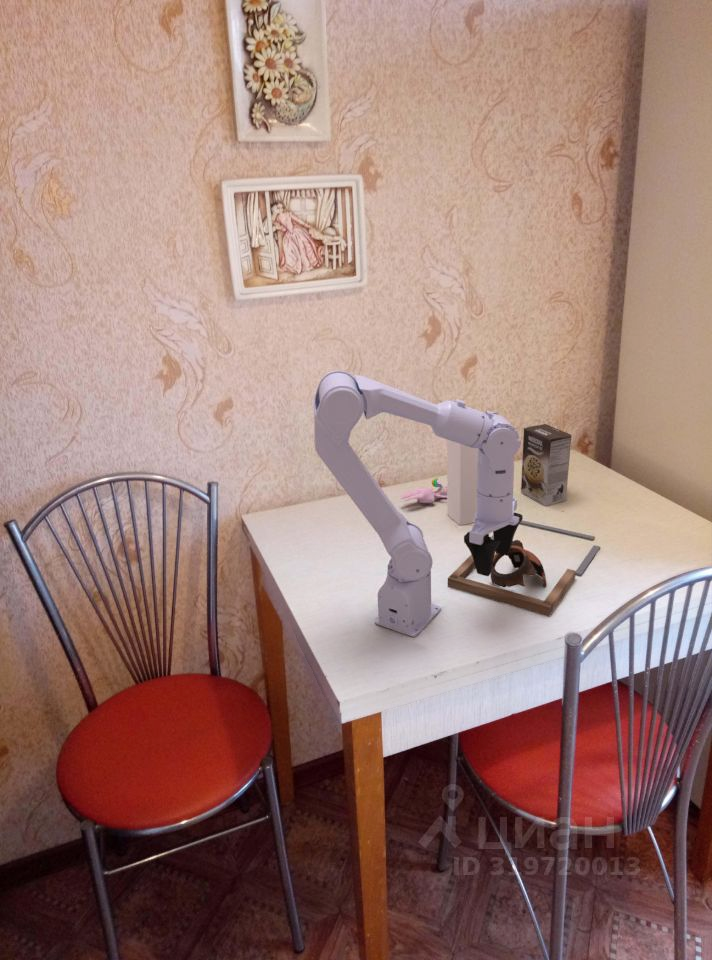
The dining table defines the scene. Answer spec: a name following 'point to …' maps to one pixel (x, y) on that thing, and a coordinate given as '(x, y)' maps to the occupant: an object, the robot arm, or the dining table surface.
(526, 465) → the coffee box
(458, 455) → the milk
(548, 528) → the grey open frame
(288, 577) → the dining table surface
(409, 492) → the rabbit figure
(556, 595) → the walnut holder
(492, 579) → the pottery mug
